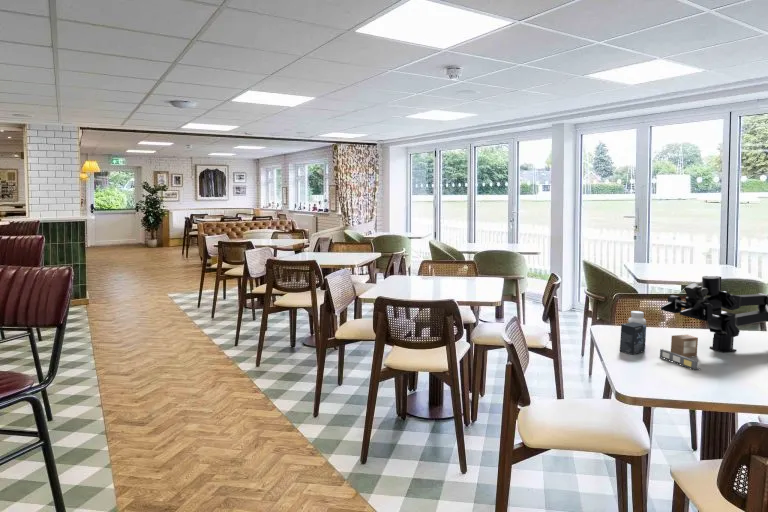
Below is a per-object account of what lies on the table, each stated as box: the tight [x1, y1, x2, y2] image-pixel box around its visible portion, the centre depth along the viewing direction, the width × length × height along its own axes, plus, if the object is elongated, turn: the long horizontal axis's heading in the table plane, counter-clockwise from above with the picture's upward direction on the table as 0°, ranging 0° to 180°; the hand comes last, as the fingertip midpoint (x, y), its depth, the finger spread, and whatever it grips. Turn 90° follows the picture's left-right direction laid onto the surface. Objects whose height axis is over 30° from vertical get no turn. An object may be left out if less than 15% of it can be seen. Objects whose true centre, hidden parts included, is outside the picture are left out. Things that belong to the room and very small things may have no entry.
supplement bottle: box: [627, 310, 647, 342], centre depth 224 cm, size 7×7×13 cm
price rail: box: [659, 348, 701, 371], centre depth 199 cm, size 16×3×3 cm, turn 15°
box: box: [619, 322, 647, 355], centre depth 213 cm, size 8×6×11 cm
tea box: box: [670, 334, 699, 358], centre depth 209 cm, size 7×5×7 cm
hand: (670, 310), depth 208 cm, fingers open, 9 cm apart
